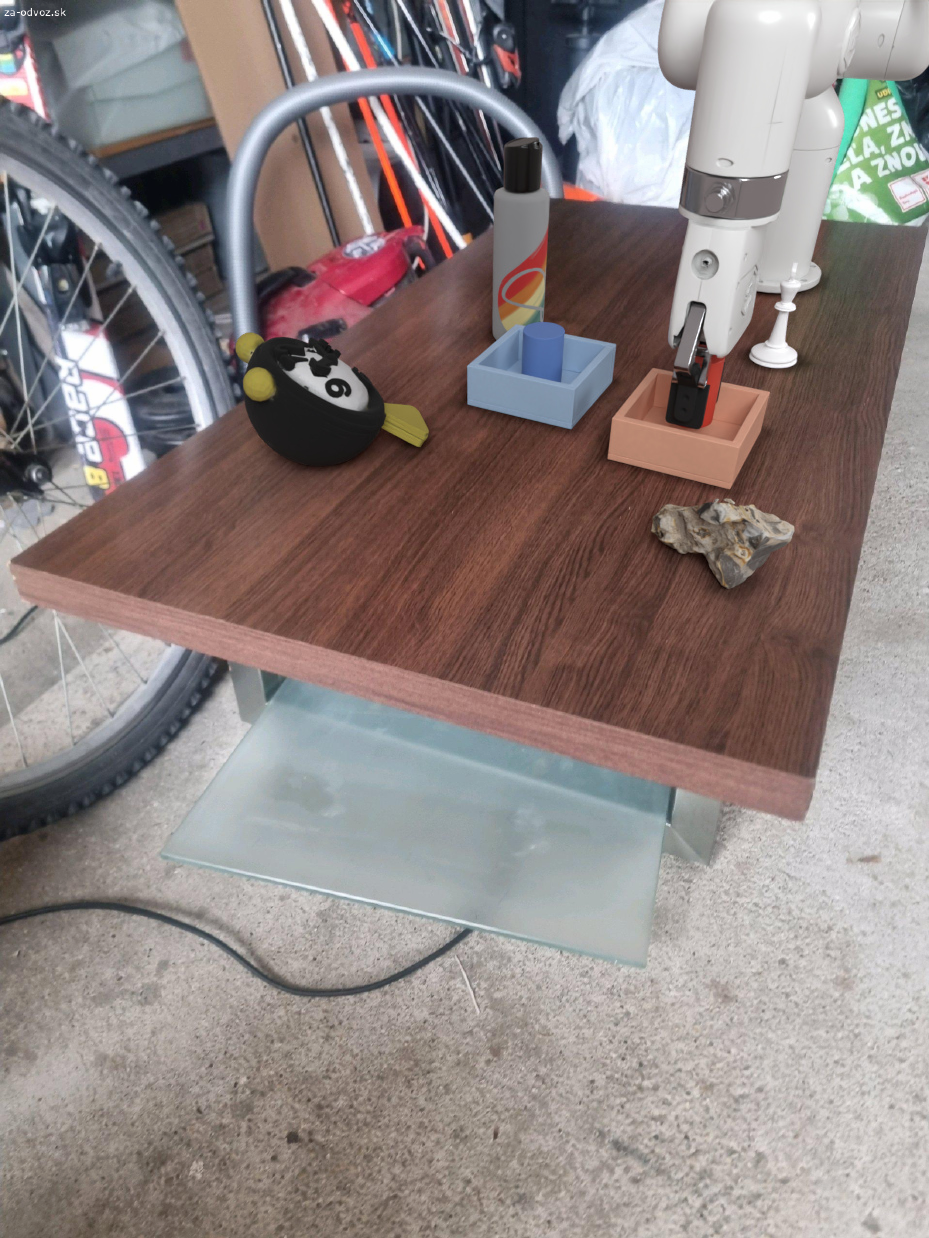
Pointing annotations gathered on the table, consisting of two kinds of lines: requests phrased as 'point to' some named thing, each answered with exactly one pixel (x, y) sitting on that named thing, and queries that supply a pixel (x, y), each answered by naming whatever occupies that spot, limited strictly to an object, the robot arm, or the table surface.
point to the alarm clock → (316, 402)
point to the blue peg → (543, 350)
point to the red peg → (711, 386)
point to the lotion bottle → (520, 238)
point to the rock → (723, 536)
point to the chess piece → (779, 330)
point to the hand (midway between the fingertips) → (691, 411)
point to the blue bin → (540, 380)
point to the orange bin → (687, 432)
